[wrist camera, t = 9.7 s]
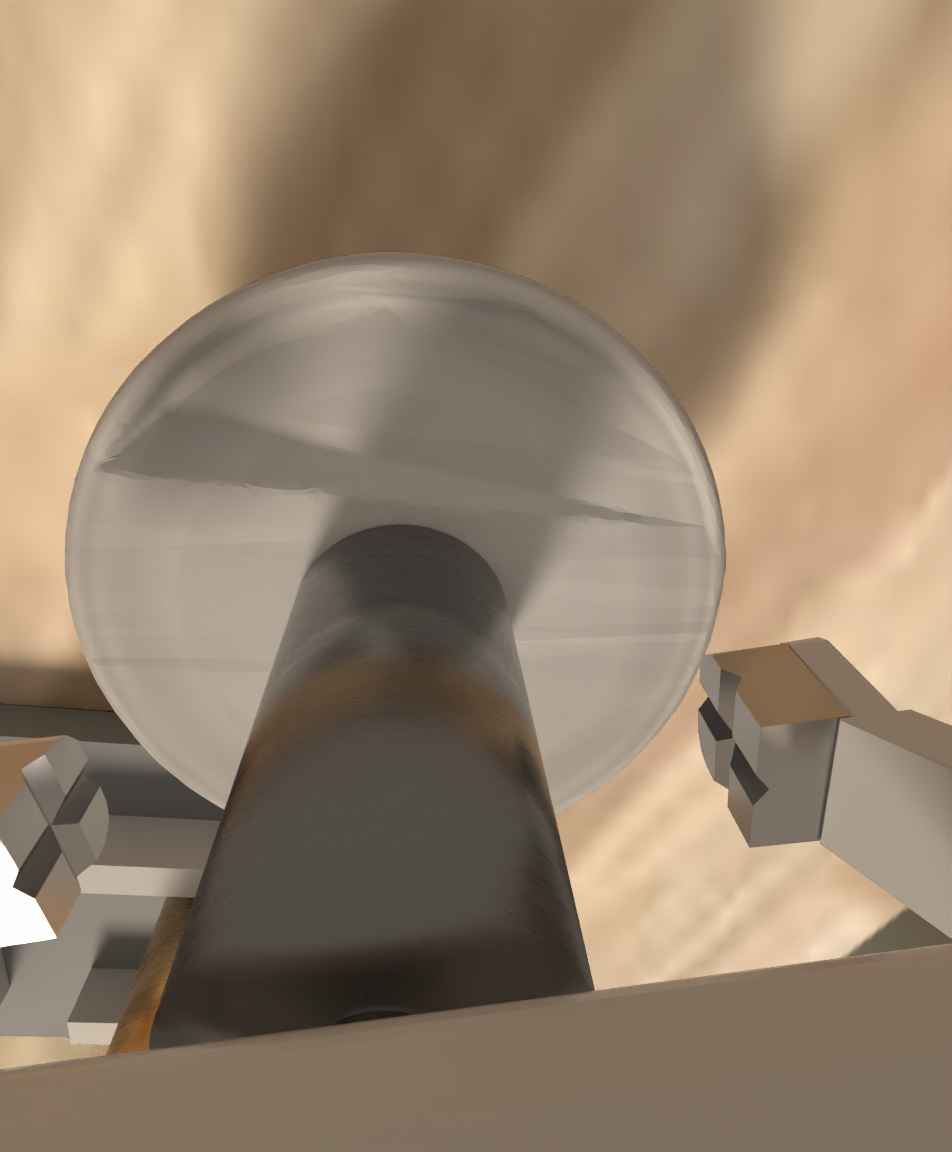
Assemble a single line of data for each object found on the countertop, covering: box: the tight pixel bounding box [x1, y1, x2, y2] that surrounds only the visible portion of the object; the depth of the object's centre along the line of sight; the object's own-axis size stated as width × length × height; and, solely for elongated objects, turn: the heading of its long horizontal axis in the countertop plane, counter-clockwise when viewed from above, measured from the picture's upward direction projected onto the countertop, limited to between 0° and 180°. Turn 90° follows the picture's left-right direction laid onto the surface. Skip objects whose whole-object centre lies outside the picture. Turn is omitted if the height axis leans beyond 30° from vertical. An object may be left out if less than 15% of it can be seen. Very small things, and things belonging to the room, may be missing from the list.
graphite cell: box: [149, 524, 595, 1050], centre depth 9 cm, size 4×4×8 cm
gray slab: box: [0, 704, 224, 1045], centre depth 19 cm, size 22×12×3 cm, turn 82°
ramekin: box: [65, 252, 726, 815], centre depth 14 cm, size 11×11×5 cm
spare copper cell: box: [106, 897, 194, 1055], centre depth 17 cm, size 4×4×8 cm
